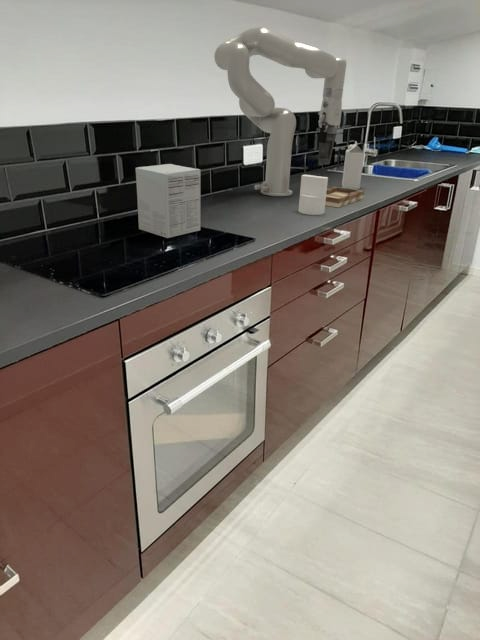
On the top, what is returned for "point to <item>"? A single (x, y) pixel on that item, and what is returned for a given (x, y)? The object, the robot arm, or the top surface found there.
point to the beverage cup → (327, 146)
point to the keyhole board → (342, 196)
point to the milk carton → (353, 167)
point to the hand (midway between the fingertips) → (326, 141)
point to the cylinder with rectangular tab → (313, 194)
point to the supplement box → (168, 199)
